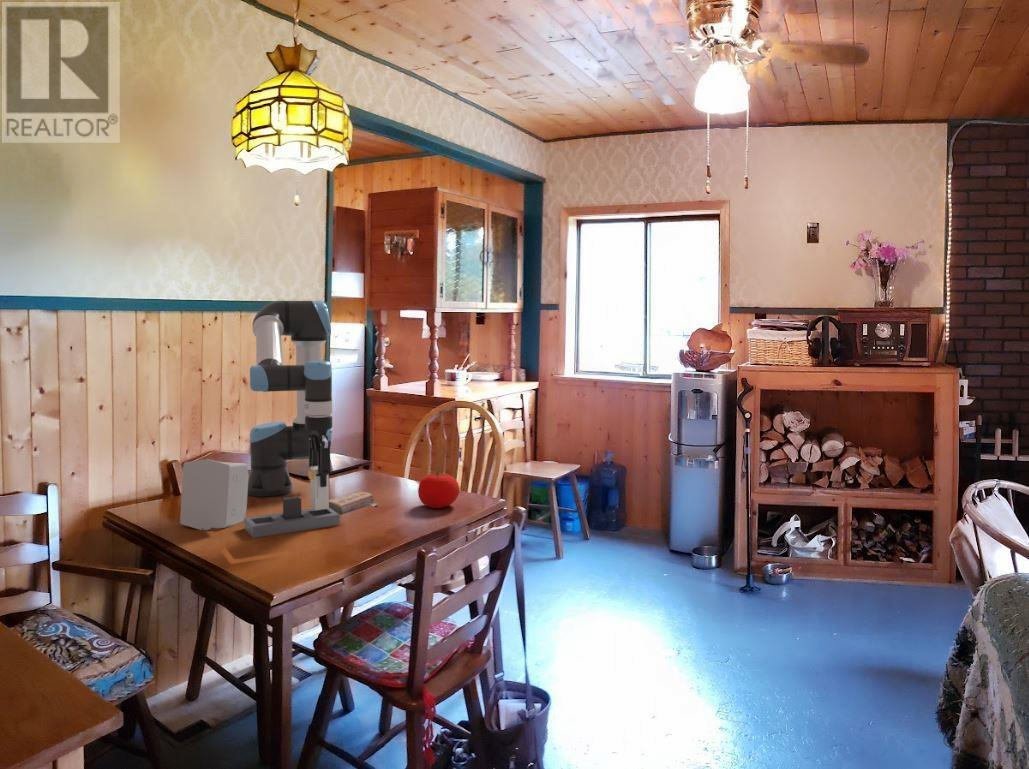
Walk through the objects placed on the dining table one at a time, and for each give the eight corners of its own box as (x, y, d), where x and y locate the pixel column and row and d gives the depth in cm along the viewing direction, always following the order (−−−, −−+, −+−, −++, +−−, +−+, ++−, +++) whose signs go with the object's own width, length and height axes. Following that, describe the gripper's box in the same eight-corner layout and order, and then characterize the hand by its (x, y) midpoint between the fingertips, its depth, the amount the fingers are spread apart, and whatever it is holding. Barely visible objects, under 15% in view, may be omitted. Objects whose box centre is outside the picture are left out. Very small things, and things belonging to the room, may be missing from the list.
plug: (308, 507, 218) (307, 466, 217) (324, 505, 220) (323, 464, 219) (312, 510, 215) (311, 469, 213) (328, 508, 217) (328, 467, 216)
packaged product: (354, 488, 245) (378, 492, 240) (354, 503, 245) (378, 507, 240) (314, 500, 229) (339, 505, 224) (314, 516, 229) (339, 521, 225)
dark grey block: (283, 525, 214) (282, 498, 213) (297, 523, 216) (296, 496, 215) (287, 529, 211) (286, 501, 210) (301, 527, 213) (301, 499, 212)
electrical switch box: (255, 525, 225) (258, 458, 226) (225, 532, 211) (229, 460, 211) (211, 521, 228) (215, 455, 229) (179, 528, 214) (183, 457, 215)
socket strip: (243, 531, 211) (243, 517, 211) (328, 519, 225) (328, 506, 224) (252, 541, 203) (252, 527, 202) (340, 528, 216) (340, 514, 215)
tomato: (423, 500, 247) (423, 467, 246) (462, 503, 245) (462, 469, 244) (413, 510, 236) (413, 475, 234) (454, 512, 234) (454, 477, 233)
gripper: (296, 412, 220) (297, 490, 222) (315, 420, 205) (316, 504, 208) (321, 410, 224) (322, 487, 226) (341, 418, 209) (342, 500, 212)
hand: (319, 495), depth 217 cm, fingers closed on plug, 4 cm apart
